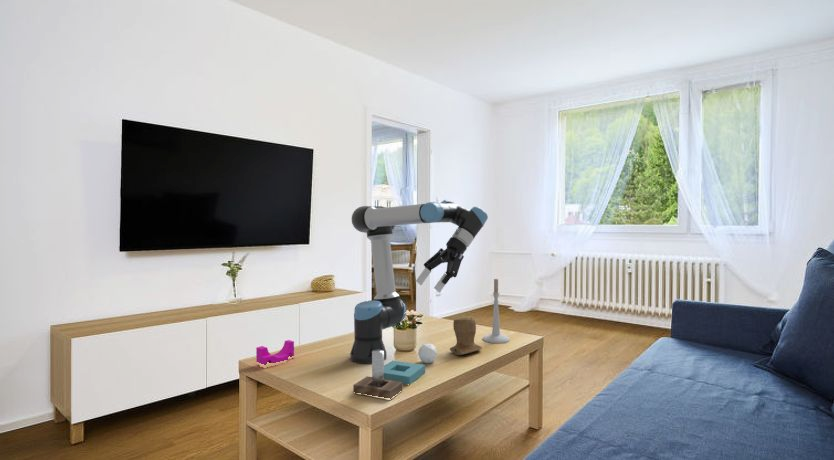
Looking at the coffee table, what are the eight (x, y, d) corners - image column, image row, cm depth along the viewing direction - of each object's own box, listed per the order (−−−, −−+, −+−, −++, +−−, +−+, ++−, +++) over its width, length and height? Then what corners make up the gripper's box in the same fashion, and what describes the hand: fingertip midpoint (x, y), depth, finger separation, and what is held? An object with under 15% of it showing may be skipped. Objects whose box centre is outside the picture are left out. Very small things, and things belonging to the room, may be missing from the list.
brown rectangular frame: (353, 393, 150) (353, 384, 150) (367, 384, 159) (367, 376, 159) (390, 400, 145) (390, 391, 145) (402, 390, 153) (402, 382, 153)
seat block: (374, 379, 164) (374, 371, 164) (392, 367, 176) (392, 360, 176) (409, 385, 158) (409, 376, 158) (425, 372, 171) (425, 365, 171)
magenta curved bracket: (264, 369, 176) (264, 350, 176) (256, 365, 180) (256, 347, 180) (297, 360, 187) (297, 342, 187) (289, 357, 191) (288, 339, 191)
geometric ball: (430, 367, 185) (440, 350, 187) (430, 366, 178) (440, 349, 180) (415, 357, 187) (425, 340, 189) (413, 355, 179) (424, 338, 181)
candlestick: (478, 341, 215) (478, 278, 214) (488, 335, 226) (488, 275, 225) (503, 344, 208) (503, 280, 208) (513, 338, 219) (513, 277, 219)
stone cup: (465, 345, 207) (465, 313, 207) (485, 351, 198) (485, 317, 198) (442, 352, 197) (442, 318, 197) (462, 358, 188) (462, 323, 188)
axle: (370, 393, 151) (369, 352, 150) (376, 389, 154) (375, 348, 154) (380, 395, 149) (380, 353, 149) (386, 391, 153) (386, 350, 152)
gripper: (436, 233, 181) (405, 274, 176) (472, 239, 160) (438, 287, 154) (447, 244, 184) (417, 285, 179) (485, 252, 163) (451, 299, 157)
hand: (427, 286), depth 167 cm, fingers open, 13 cm apart
